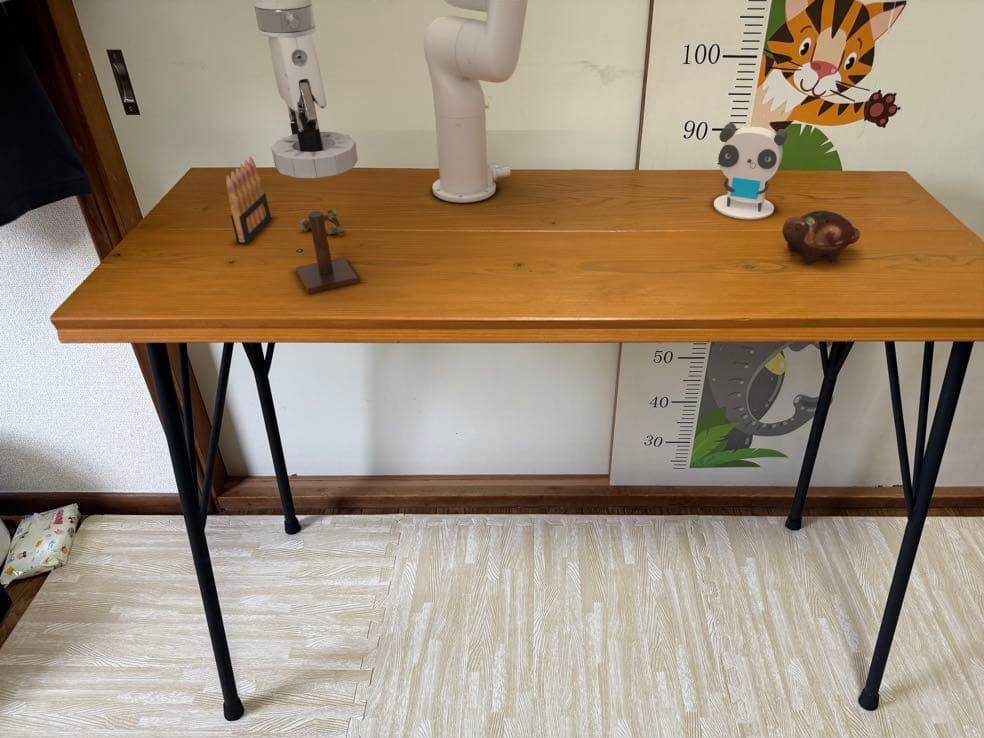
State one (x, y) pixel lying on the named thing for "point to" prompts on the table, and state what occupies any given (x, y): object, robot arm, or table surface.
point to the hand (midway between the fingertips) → (309, 151)
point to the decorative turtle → (819, 235)
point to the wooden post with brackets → (331, 214)
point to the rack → (324, 262)
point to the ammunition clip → (247, 202)
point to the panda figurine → (748, 170)
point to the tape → (315, 156)
